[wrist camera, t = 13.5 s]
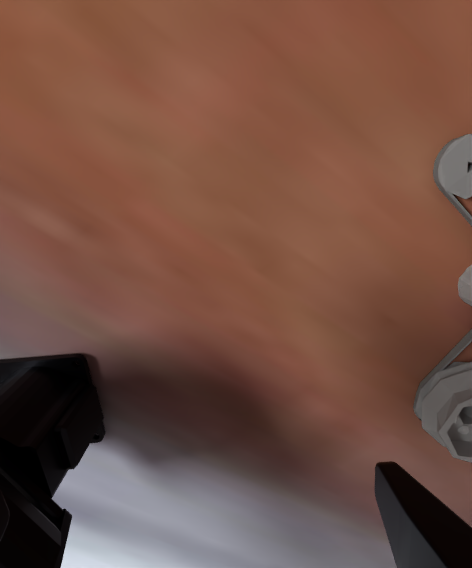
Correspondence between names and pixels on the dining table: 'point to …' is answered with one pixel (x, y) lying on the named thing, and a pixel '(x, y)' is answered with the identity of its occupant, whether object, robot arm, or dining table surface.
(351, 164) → the dining table surface
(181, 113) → the dining table surface
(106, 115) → the dining table surface
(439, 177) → the pulley system
